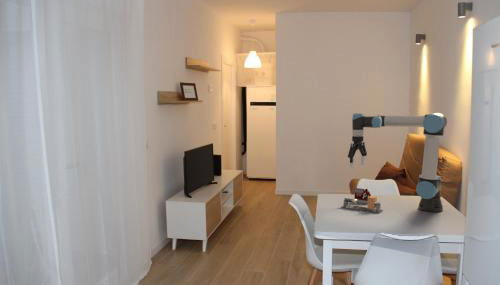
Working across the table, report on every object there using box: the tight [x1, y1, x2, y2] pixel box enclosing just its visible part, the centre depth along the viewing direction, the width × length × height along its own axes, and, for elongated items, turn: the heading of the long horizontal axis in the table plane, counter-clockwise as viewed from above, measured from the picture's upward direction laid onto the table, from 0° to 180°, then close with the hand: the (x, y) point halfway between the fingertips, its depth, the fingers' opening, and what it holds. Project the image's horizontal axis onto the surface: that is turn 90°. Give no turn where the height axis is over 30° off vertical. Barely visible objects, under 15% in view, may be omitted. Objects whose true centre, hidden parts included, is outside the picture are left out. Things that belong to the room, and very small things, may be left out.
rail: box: [340, 197, 384, 215], centre depth 291 cm, size 26×8×6 cm, turn 55°
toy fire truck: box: [353, 187, 372, 201], centre depth 309 cm, size 7×12×10 cm, turn 63°
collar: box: [367, 195, 378, 209], centre depth 287 cm, size 4×6×7 cm
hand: (357, 166), depth 302 cm, fingers open, 13 cm apart
